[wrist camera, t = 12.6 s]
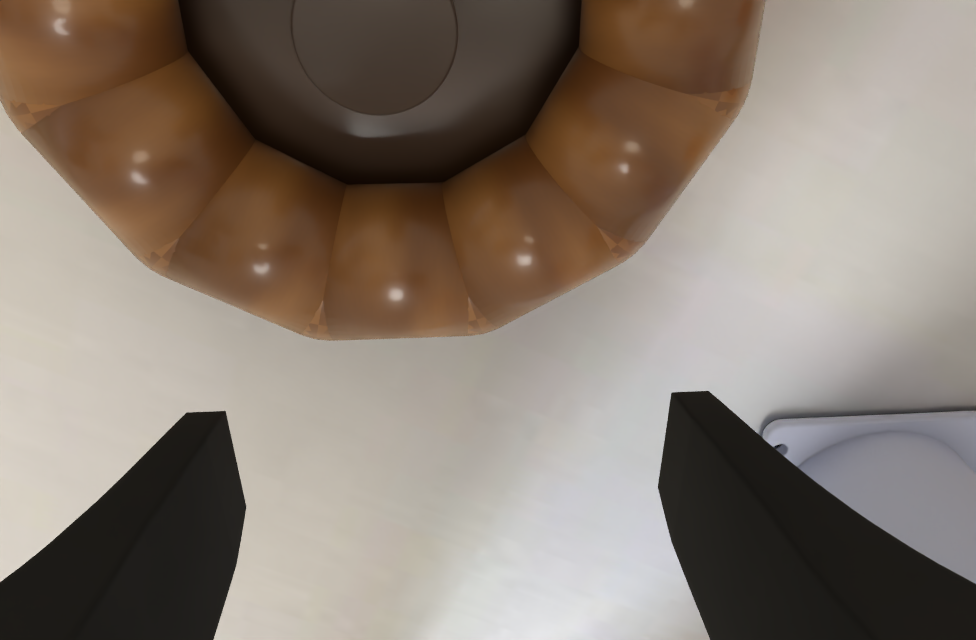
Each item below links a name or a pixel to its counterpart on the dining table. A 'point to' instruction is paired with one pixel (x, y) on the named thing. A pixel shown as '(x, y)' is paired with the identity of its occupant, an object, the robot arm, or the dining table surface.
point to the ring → (376, 207)
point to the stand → (384, 77)
